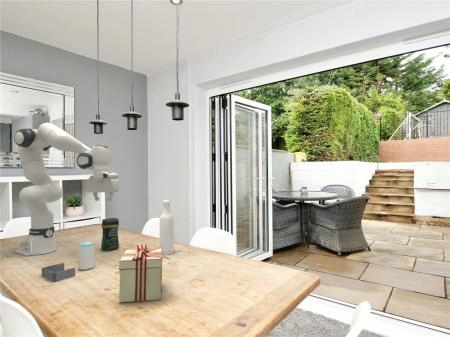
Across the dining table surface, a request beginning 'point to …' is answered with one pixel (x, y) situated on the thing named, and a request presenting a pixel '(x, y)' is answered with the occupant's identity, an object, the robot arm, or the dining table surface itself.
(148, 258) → the gift box
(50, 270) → the grey u-shaped bracket
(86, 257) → the can
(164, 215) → the bottle
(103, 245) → the coffee jar
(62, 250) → the dining table surface
